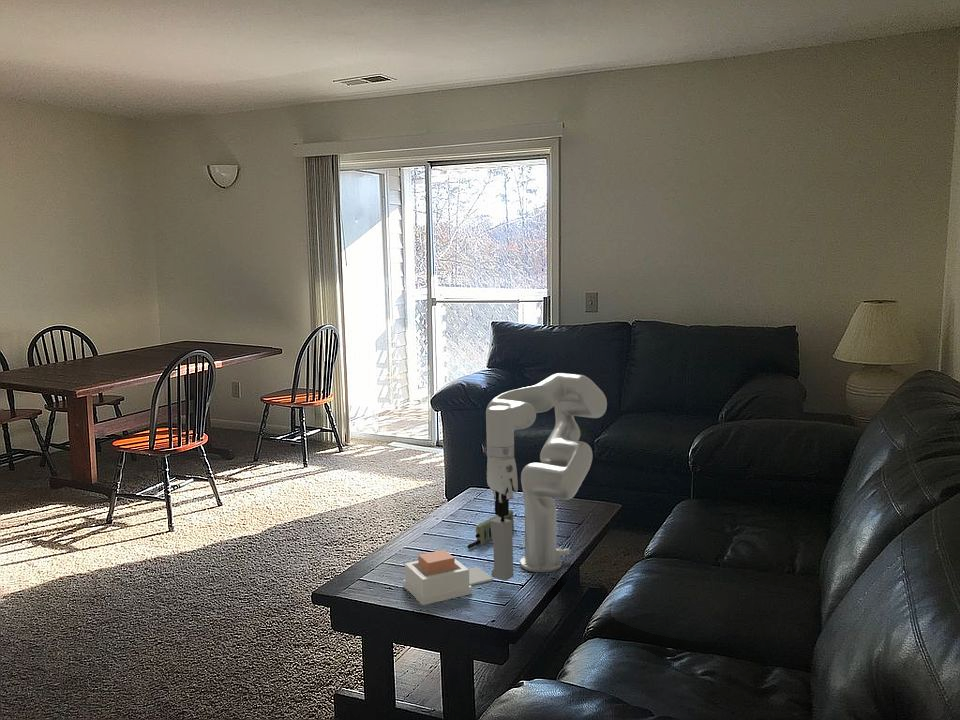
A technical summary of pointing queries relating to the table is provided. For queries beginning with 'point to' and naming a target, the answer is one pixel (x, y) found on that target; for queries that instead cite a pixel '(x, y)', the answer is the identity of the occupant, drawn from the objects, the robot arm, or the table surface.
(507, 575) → the vintage mobile phone
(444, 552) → the button
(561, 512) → the table surface
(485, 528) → the handheld radio
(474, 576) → the light gray square panel
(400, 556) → the table surface
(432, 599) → the frame
